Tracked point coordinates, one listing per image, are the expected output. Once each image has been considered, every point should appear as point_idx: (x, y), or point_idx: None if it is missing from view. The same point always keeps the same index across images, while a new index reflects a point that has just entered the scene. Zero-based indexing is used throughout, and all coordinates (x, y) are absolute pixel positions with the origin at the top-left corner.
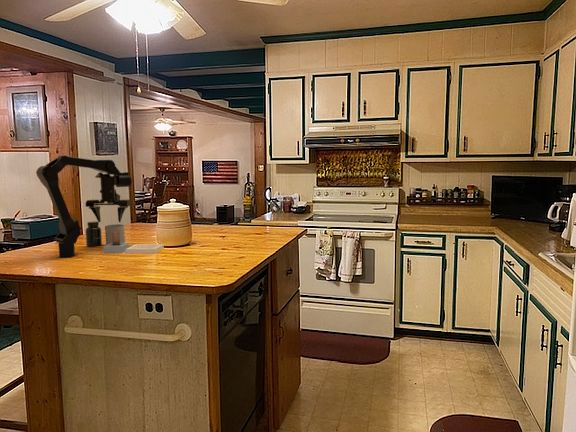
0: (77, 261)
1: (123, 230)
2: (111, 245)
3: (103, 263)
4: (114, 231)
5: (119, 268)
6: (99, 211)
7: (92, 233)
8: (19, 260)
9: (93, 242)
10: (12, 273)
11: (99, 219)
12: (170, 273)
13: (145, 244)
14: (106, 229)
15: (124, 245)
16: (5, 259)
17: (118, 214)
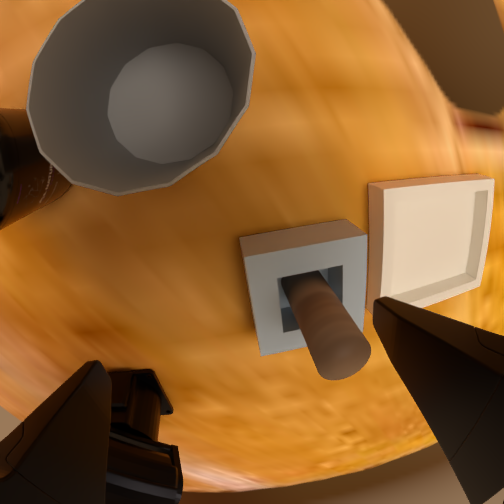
0: (233, 426)
1: (244, 60)
2: (279, 306)
3: (340, 418)
4: (341, 369)
5: (398, 424)
6: (31, 471)
7: (11, 220)
8: None
9: (49, 200)
10: None
11: (102, 404)
12: None
13: (433, 187)
14: (95, 179)
15: (363, 295)
16: (3, 407)
17: (434, 419)
